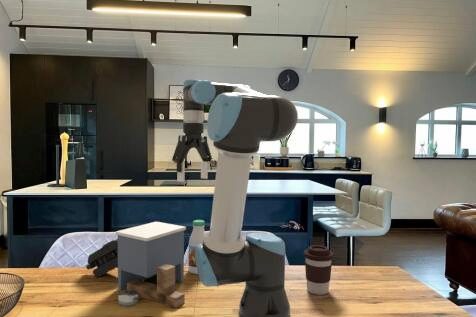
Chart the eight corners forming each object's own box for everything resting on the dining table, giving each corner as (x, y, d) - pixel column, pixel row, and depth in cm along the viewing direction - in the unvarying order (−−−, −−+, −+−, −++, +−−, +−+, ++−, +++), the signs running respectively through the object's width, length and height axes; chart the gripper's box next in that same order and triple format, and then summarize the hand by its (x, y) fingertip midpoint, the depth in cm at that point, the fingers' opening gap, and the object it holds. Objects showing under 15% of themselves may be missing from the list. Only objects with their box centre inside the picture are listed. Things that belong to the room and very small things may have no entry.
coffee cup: (308, 283, 130) (309, 242, 129) (336, 289, 125) (337, 246, 124) (298, 292, 121) (299, 249, 121) (327, 299, 116) (328, 254, 115)
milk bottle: (186, 269, 142) (186, 219, 142) (204, 266, 146) (204, 218, 145) (191, 275, 135) (192, 223, 135) (210, 272, 139) (211, 222, 138)
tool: (136, 273, 129) (118, 236, 130) (95, 295, 133) (77, 259, 134) (144, 267, 135) (126, 232, 136) (105, 288, 139) (87, 254, 140)
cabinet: (185, 280, 130) (185, 226, 130) (146, 299, 114) (146, 238, 113) (156, 272, 138) (156, 221, 138) (115, 289, 122) (115, 231, 121)
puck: (141, 299, 115) (141, 290, 115) (134, 307, 109) (134, 298, 109) (122, 298, 116) (122, 289, 115) (115, 306, 110) (115, 298, 109)
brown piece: (184, 303, 112) (184, 268, 112) (176, 308, 109) (176, 272, 109) (136, 287, 124) (136, 256, 124) (127, 291, 121) (126, 259, 120)
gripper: (205, 124, 145) (205, 176, 145) (161, 121, 123) (161, 182, 124) (221, 124, 141) (220, 177, 141) (178, 120, 119) (178, 183, 120)
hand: (193, 179), depth 133 cm, fingers open, 13 cm apart
